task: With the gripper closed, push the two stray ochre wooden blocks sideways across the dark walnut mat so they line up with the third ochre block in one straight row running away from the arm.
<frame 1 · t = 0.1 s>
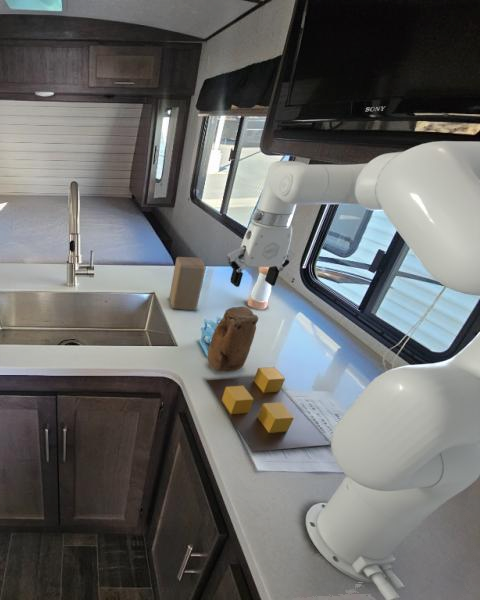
hand: (252, 283, 83), 31 cm above the worktop, tool pointing down, fingers open, 9 cm apart
mat: (261, 409, 87), on the worktop
ochre block A: (272, 424, 82), resting on mat
ochre block C: (266, 385, 94), resting on mat
ochre block B: (234, 406, 87), resting on mat
block: (223, 366, 102), on the worktop
light blue crumpled piece: (210, 348, 110), on the worktop
pepper shaker: (256, 305, 137), on the worktop
wooden block: (182, 305, 136), on the worktop
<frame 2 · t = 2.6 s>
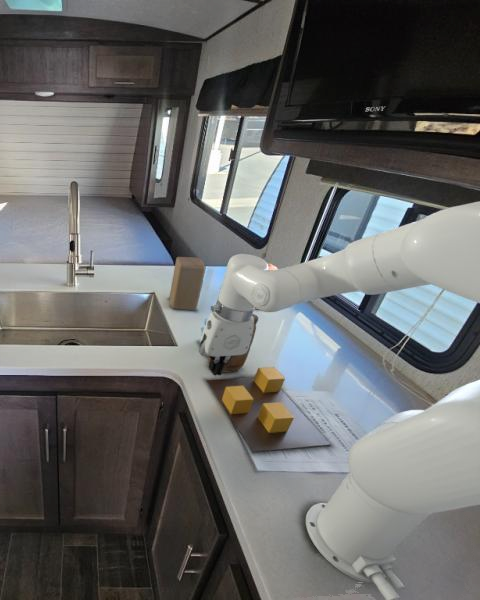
hand: (214, 371, 80), 13 cm above the worktop, tool pointing down, fingers closed
nothing on the worktop moved.
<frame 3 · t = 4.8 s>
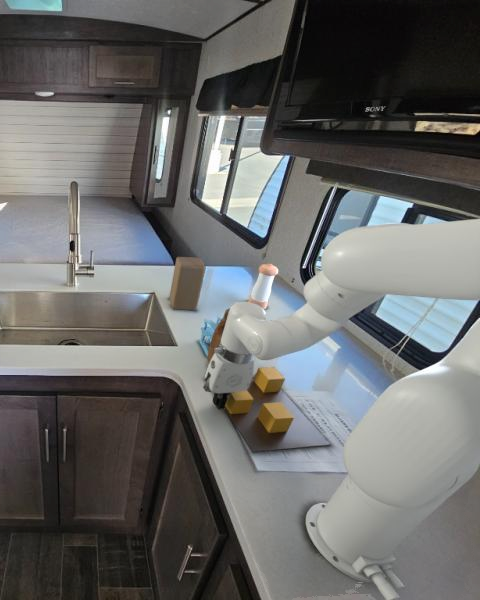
hand: (218, 405, 86), 1 cm above the worktop, tool pointing down, fingers closed
ochre block B: (234, 406, 87), resting on mat, touching gripper
everything else where it was.
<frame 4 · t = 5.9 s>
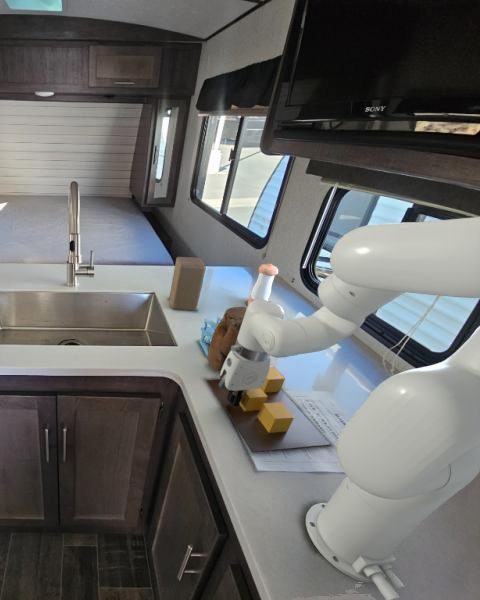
hand: (232, 402, 87), 2 cm above the worktop, tool pointing down, fingers closed
ochre block B: (247, 403, 88), resting on mat, touching gripper
everything else where it was.
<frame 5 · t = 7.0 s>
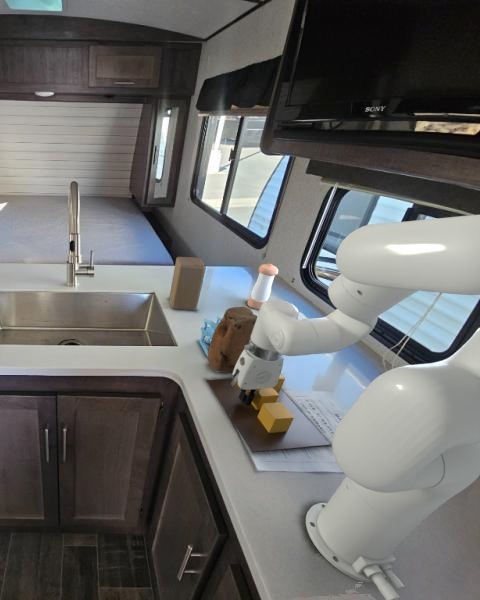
hand: (244, 401, 87), 2 cm above the worktop, tool pointing down, fingers closed
ochre block B: (259, 402, 89), resting on mat, touching gripper
everything else where it was.
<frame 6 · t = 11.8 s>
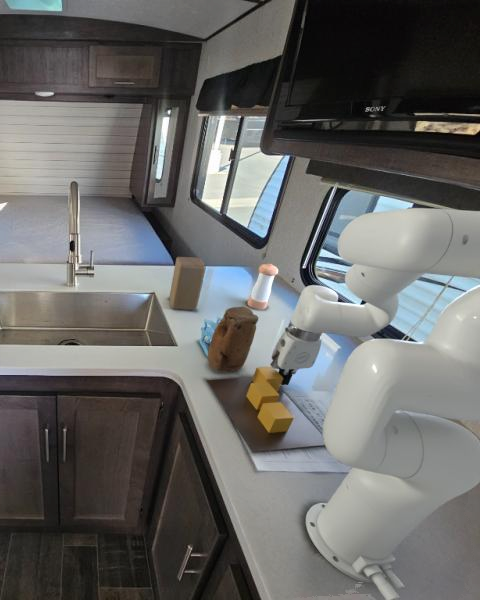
hand: (281, 381, 94), 1 cm above the worktop, tool pointing down, fingers closed
ochre block C: (264, 385, 94), resting on mat, touching gripper
ochre block B: (259, 402, 89), resting on mat
everything else where it was.
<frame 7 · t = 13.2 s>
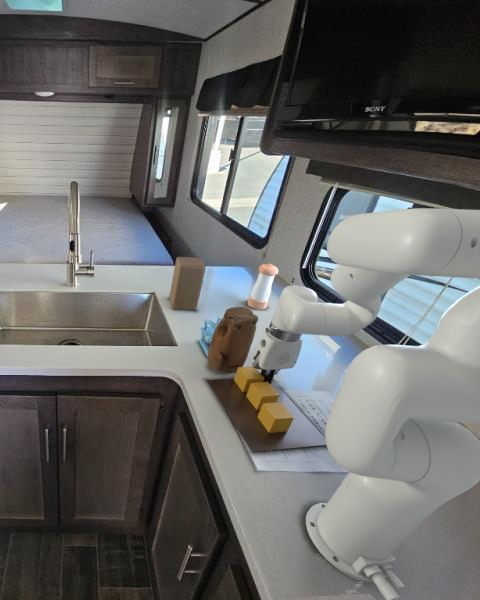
hand: (264, 382, 94), 2 cm above the worktop, tool pointing down, fingers closed
ochre block C: (246, 385, 94), resting on mat, touching gripper
everything else where it was.
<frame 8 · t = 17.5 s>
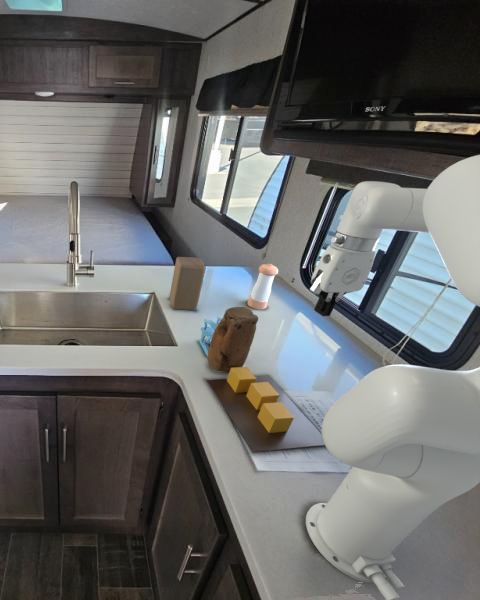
hand: (321, 313, 79), 27 cm above the worktop, tool pointing down, fingers closed
ochre block C: (239, 386, 94), resting on mat
everything else where it was.
at the end: ochre block B 1.4 cm from the target spot, resting on mat; ochre block C 1.3 cm from the target spot, resting on mat; ochre block A moved 0.0 cm from its start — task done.
